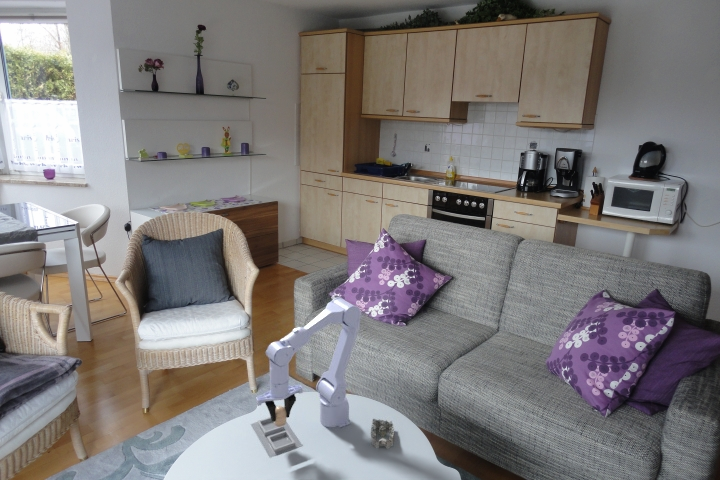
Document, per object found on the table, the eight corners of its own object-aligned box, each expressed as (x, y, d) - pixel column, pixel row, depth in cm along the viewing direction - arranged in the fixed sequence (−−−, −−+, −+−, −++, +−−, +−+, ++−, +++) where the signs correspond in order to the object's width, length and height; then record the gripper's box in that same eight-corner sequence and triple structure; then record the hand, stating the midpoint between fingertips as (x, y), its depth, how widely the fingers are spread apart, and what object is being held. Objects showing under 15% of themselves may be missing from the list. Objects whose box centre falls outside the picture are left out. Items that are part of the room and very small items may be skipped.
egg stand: (281, 416, 165) (281, 411, 165) (302, 448, 151) (302, 442, 150) (250, 426, 160) (250, 421, 159) (269, 460, 145) (269, 454, 145)
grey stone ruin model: (393, 450, 151) (393, 439, 150) (369, 448, 152) (370, 437, 151) (394, 428, 162) (394, 418, 160) (372, 426, 162) (372, 416, 161)
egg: (283, 417, 152) (283, 402, 151) (288, 424, 149) (288, 409, 148) (271, 420, 150) (271, 405, 149) (276, 428, 147) (275, 412, 146)
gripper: (296, 367, 153) (296, 404, 156) (252, 379, 145) (253, 417, 149) (305, 378, 147) (305, 416, 150) (259, 391, 140) (260, 430, 143)
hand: (280, 417), depth 149 cm, fingers closed on egg, 4 cm apart
